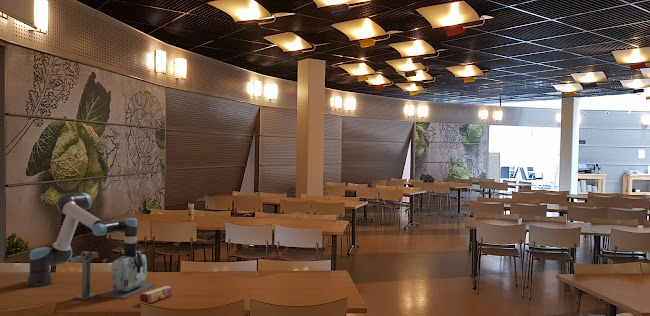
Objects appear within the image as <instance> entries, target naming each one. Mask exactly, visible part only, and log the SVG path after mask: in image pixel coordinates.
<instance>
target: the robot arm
mask: <svg viewBox="0 0 650 316" xmlns="http://www.w3.org/2000/svg"><path fill="white" fill-rule="evenodd" d="M92 203H93V202H92V198H91V196H90V194H88V193H86V192H77V193H76V192H75V193H73V192H72V193H64V194H62V195H61V196H59V197H58V199H57V201H56V207H57V210H58V211H59V212H60V213H61V214H64V215H65V217H64V220H63V222H62V225H61V229H60V230H59V234H58V237H57V238H56V241H55V242H53V243H52V245H51V248H50V247H47V246H44V247H43V246H42V247H37V248H34V249H32V250H31V251H30V253H29V274H28V275H27V279H26V281H25V282H26V283H25V286H26V285H27V287H29V286H30V287H31V288H34V287H35V288H36V287H44V286H45V287H46V286H49V285H52V284H53V277H52V274H51V270H50V268H51V267H52V266H56V265H62V264H65V263H67V262H69V261H71V258H73V249H72V246H71V243H72V240H73V238H74V235H75V232H76V229H77V227H78V224H79V222H80V223H81V224H83V225H84V226H86V227H88V228H90V230H91V232H92V234H93V235H94V236H97V237H99V236H101V237H102V236H105V235H106V236H107V235H112V234H116V233H121V234H123V233H124V236H123V237H124V238H123V239H124V240H123V241H124V244H123V248H124V249H121V250H119V256H118V258H121V256H129V257H133V258H134V262H135V265H136V267H137V268H136V278H139V273H140V268H141V267H143V262H142V258H141V254H142V251H140V250H137V247H138V219H137V218H135V217H133V218H132V217H129V218H125V219H124V220H118V219H115V220H110V221H106V222H105V221H103V220H102V219H100V218H98V217H96V216H95V215H93V214H92V213H90V212H88V211H87V210H89V209H90V208H91V207H92ZM136 255H137V256H136ZM134 256H135V257H134Z"/></svg>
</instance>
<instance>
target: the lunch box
mask: <svg viewBox="0 0 650 316" xmlns="http://www.w3.org/2000/svg"><path fill="white" fill-rule="evenodd" d="M136 256H137V255H136ZM134 257H135V256H134ZM141 258H142V262H143V267H141V268H140V273H139V278H136V268H137V267H136V265H135V262H134V258H133V257H129V256H125V255H124V256H121V258H119V257H118V258H116V259H115V260H113V261H112V263H111V284H112V285H111V286H112V289H113V291H129V290H132V289H134V288H136V287H138V286H140V285H142V284H146V282H147V277H148V266H147V265H148V264H147V263H148V262H147V261H148V260H147V256H146V254H145V253H141Z"/></svg>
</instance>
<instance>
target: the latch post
mask: <svg viewBox="0 0 650 316" xmlns="http://www.w3.org/2000/svg"><path fill="white" fill-rule="evenodd" d="M92 252H93V251H86V250H85V251H81V252H80V255H84V254H87V260H86V261H82V276H81V279H82V282H81V293H79V294H76V295H74V296H72V300H79V301H80V300H81V301H89V300H91V299H94V298H96V297H98V296H100V294H99V293H96V292H95V293H94V292H91V262H92V261H93V259H92Z"/></svg>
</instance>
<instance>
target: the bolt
mask: <svg viewBox="0 0 650 316" xmlns="http://www.w3.org/2000/svg"><path fill="white" fill-rule="evenodd" d="M91 252H92V260H93V259H99V258H100V256H99V255H100V254H99V253H100V252H98V251H91ZM86 260H87V254H84V255H81V254H80V255H77V256H72V257H71V259H70V264H78V263H81V262H82V263H83V261H86Z"/></svg>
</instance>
